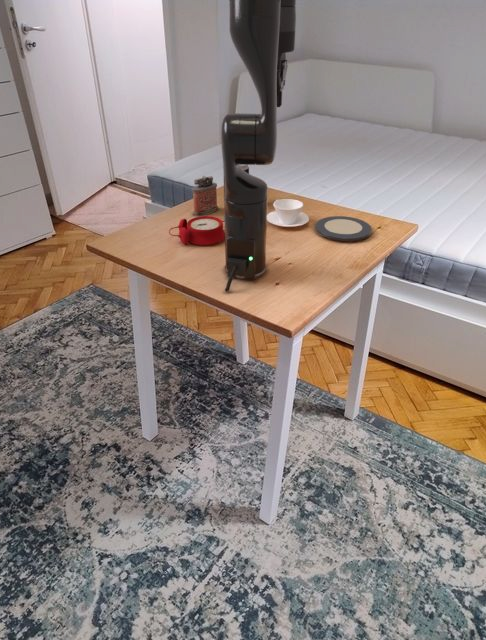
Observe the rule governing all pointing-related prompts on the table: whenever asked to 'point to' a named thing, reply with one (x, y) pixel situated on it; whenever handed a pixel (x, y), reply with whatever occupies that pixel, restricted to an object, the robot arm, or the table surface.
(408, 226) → the table surface
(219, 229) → the alarm clock
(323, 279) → the table surface
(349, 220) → the plate
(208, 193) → the lighter
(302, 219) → the teacup
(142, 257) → the table surface
